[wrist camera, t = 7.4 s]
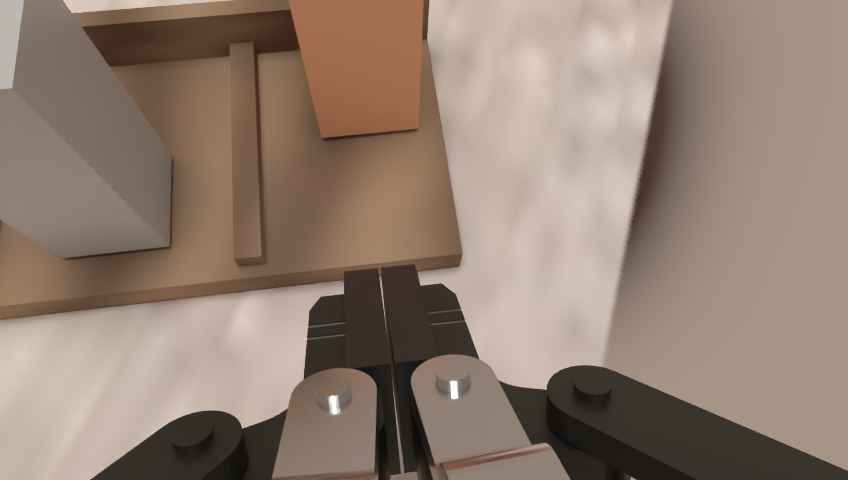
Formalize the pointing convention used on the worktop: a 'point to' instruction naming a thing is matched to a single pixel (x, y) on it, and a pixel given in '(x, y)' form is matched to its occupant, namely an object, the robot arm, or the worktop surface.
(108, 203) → the grey rectangular block
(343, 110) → the orange block
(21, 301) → the wooden divided tray
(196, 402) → the worktop surface
